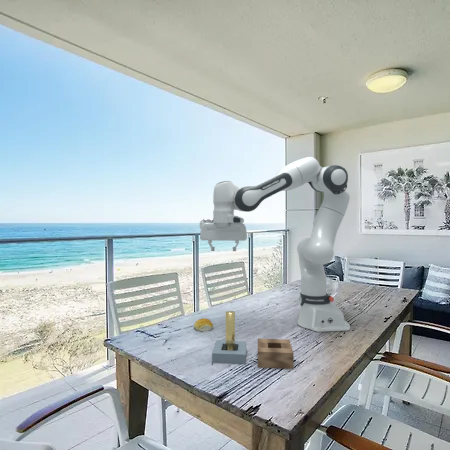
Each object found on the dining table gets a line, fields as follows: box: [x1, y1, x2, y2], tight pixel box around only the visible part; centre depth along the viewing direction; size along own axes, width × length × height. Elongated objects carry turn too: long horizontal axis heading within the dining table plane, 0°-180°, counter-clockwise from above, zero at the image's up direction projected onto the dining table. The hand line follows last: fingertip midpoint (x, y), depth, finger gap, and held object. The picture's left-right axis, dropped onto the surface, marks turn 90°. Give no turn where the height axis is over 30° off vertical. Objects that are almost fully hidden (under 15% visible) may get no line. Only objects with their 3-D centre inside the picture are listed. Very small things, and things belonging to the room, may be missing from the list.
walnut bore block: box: [257, 337, 294, 370], centre depth 104 cm, size 11×11×6 cm
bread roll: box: [193, 317, 214, 332], centre depth 138 cm, size 8×9×4 cm
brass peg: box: [225, 310, 236, 351], centre depth 108 cm, size 3×3×16 cm
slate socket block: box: [211, 340, 247, 366], centre depth 108 cm, size 11×11×4 cm
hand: (223, 251), depth 136 cm, fingers open, 8 cm apart
